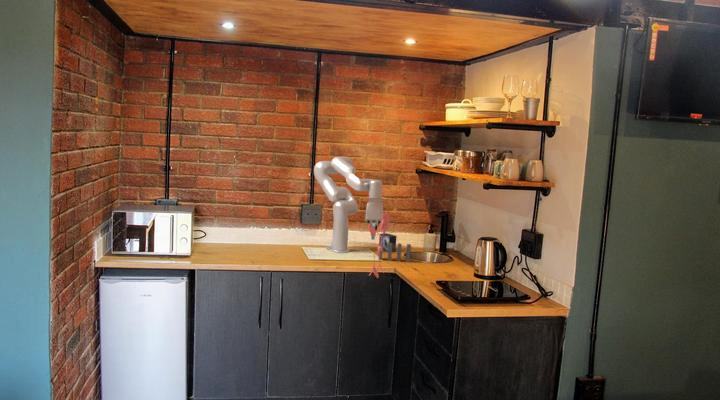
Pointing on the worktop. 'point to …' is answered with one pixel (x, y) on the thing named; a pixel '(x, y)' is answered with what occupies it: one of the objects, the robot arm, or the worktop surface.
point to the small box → (388, 241)
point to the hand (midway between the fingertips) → (373, 231)
